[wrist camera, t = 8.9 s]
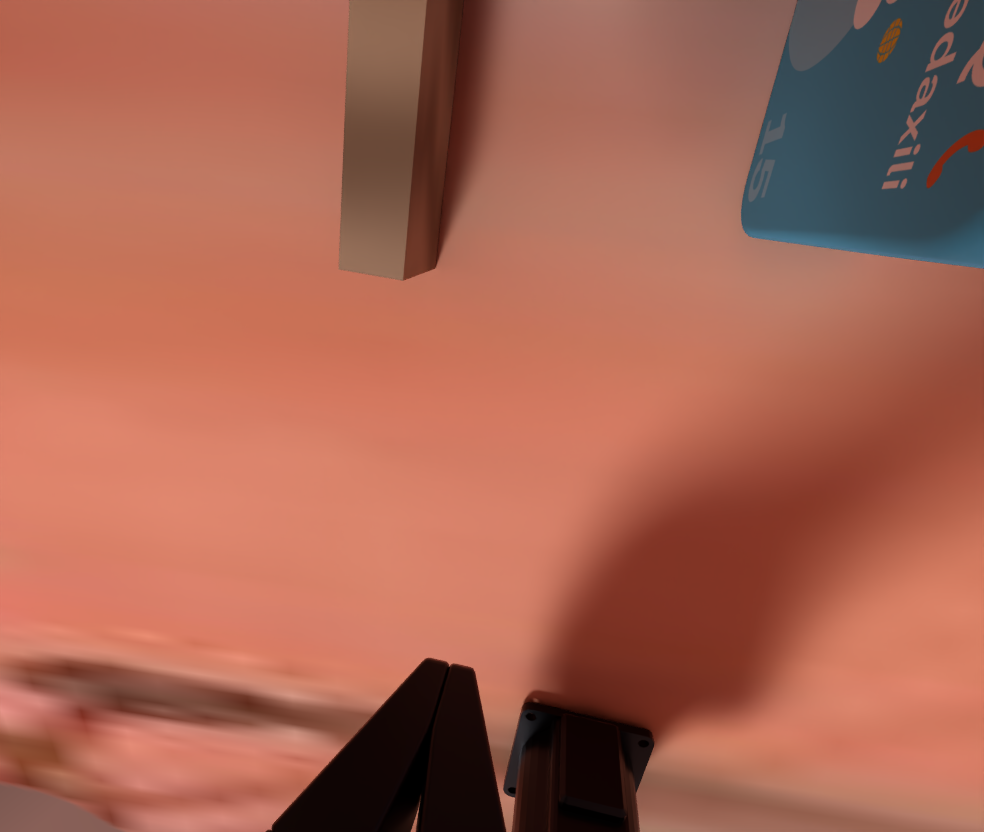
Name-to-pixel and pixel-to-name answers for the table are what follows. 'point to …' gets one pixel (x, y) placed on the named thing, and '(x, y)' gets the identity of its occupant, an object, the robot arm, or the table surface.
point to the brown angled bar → (397, 133)
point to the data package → (876, 132)
